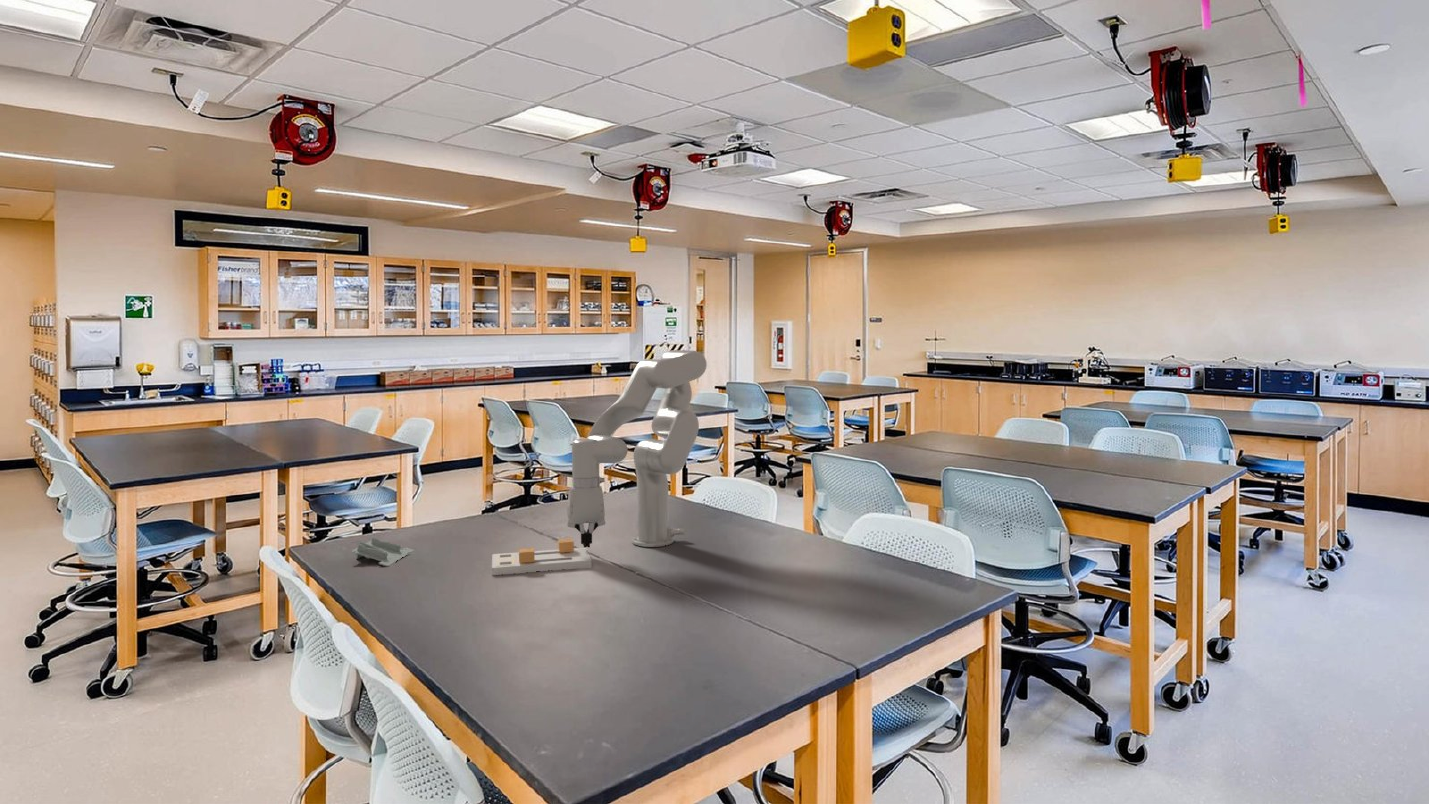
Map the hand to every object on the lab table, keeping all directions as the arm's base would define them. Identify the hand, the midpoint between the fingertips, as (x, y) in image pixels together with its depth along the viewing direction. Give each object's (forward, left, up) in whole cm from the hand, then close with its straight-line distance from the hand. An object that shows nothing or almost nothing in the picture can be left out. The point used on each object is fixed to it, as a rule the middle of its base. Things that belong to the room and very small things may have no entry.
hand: (586, 546), depth 217 cm
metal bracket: (+56, -15, -4) cm, 58 cm away
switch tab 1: (+17, +7, -1) cm, 18 cm away
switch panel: (+13, +3, -3) cm, 14 cm away
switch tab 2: (+6, 0, -1) cm, 6 cm away
